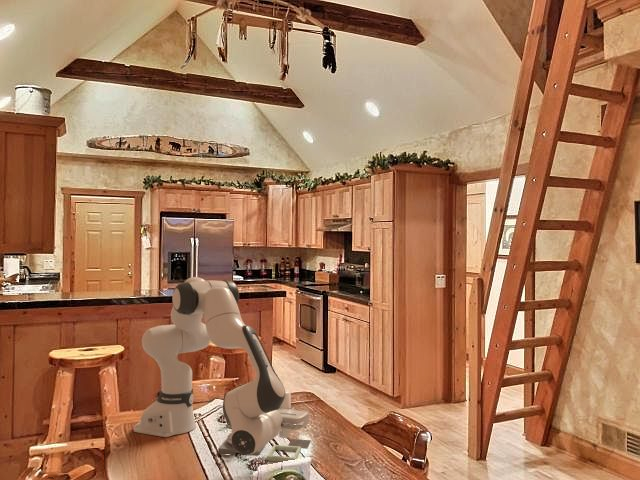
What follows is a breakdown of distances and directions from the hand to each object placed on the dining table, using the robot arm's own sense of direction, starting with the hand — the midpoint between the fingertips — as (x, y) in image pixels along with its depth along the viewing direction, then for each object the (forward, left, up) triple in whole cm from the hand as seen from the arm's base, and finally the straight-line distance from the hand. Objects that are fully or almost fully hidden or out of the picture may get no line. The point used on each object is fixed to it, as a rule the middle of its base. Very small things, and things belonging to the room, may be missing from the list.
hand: (285, 409), depth 161 cm
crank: (-15, +5, -13) cm, 21 cm away
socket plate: (+3, +9, -16) cm, 18 cm away
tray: (0, -1, -16) cm, 16 cm away
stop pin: (0, -1, -8) cm, 8 cm away
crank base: (-15, +5, -16) cm, 22 cm away
